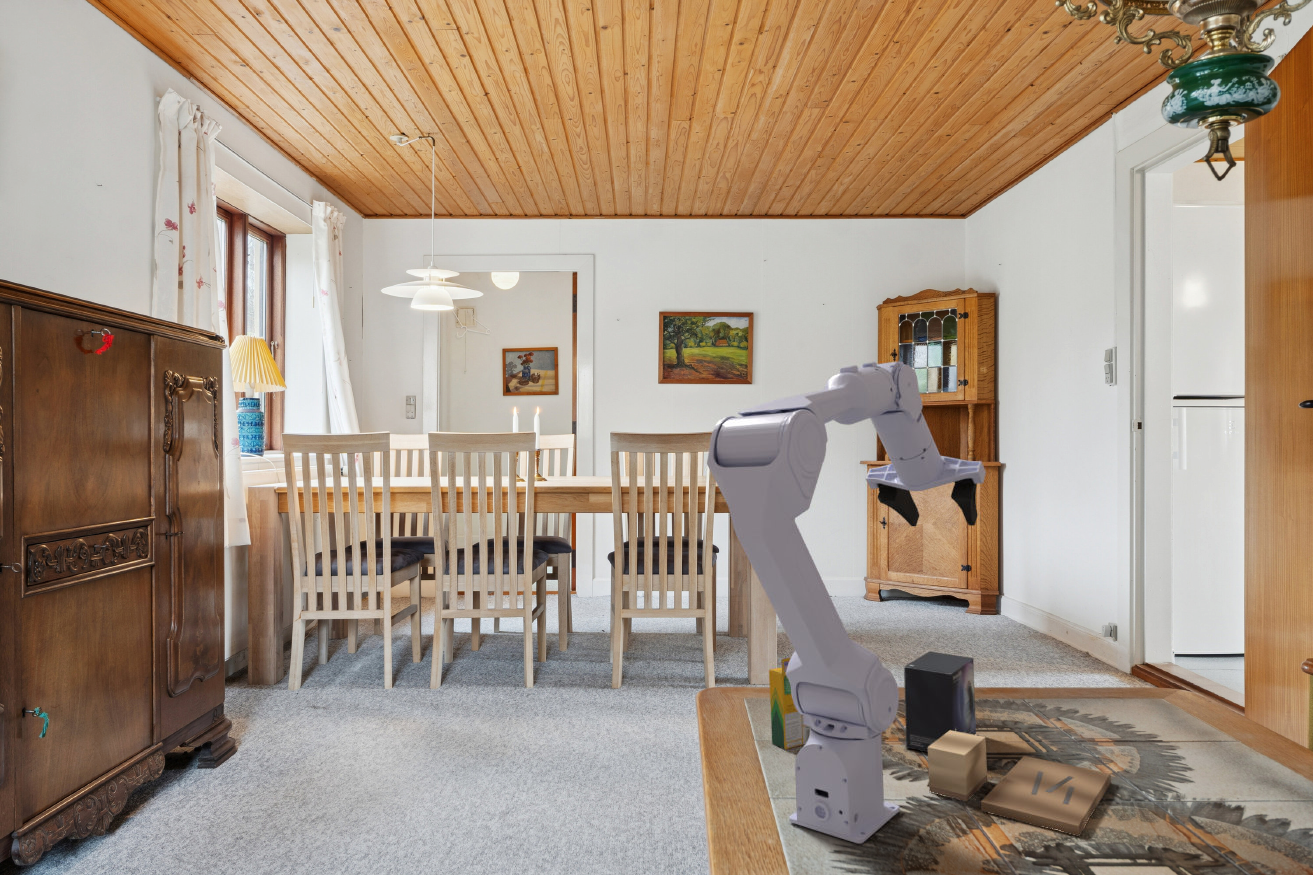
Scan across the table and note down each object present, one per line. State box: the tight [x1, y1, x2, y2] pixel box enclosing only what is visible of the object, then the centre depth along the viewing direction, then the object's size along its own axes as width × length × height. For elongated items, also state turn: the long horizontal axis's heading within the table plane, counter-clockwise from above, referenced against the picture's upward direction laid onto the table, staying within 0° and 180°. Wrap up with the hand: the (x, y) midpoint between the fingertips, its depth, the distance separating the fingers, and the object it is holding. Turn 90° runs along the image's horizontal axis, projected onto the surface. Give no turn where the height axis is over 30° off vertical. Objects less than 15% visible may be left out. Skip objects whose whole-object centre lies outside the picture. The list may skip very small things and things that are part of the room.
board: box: [980, 755, 1112, 837], centre depth 81 cm, size 16×9×1 cm, turn 139°
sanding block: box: [927, 730, 988, 802], centre depth 85 cm, size 7×4×5 cm, turn 139°
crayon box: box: [768, 656, 810, 751], centre depth 100 cm, size 7×3×12 cm, turn 120°
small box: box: [903, 650, 977, 753], centre depth 99 cm, size 11×6×10 cm, turn 143°
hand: (943, 520), depth 99 cm, fingers open, 7 cm apart
